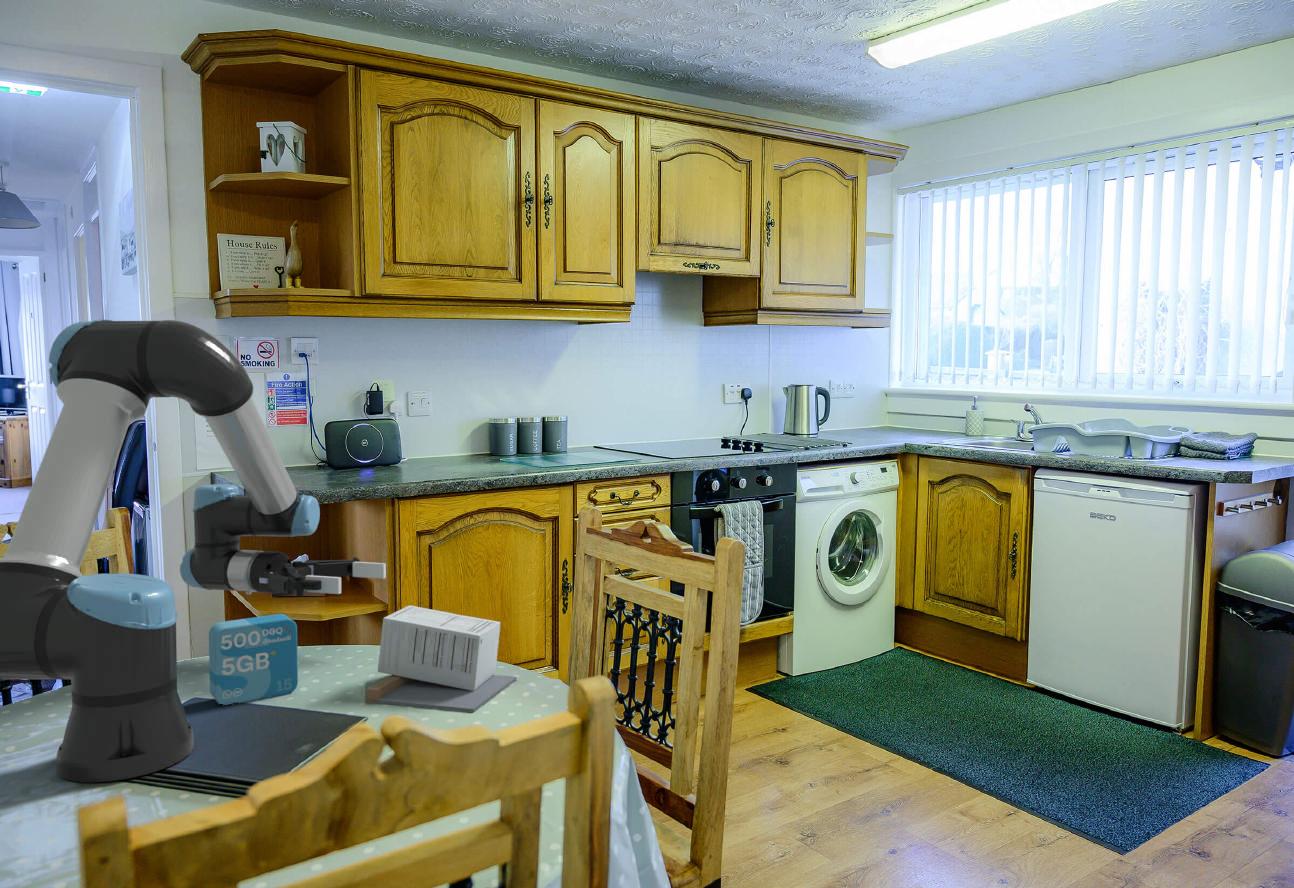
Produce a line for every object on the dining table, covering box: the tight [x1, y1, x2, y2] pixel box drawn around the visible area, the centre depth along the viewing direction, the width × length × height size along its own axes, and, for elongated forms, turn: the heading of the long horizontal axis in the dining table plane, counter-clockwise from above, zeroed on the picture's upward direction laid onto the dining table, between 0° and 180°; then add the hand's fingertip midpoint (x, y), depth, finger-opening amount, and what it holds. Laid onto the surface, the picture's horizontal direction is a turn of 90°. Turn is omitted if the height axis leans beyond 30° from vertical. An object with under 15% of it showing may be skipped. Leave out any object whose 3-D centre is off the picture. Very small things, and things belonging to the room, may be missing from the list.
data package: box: [208, 613, 299, 705], centre depth 137 cm, size 12×4×12 cm, turn 127°
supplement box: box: [377, 605, 501, 691], centre depth 143 cm, size 10×9×17 cm
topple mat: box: [365, 674, 517, 713], centre depth 140 cm, size 18×16×2 cm
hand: (363, 577), depth 154 cm, fingers open, 13 cm apart
